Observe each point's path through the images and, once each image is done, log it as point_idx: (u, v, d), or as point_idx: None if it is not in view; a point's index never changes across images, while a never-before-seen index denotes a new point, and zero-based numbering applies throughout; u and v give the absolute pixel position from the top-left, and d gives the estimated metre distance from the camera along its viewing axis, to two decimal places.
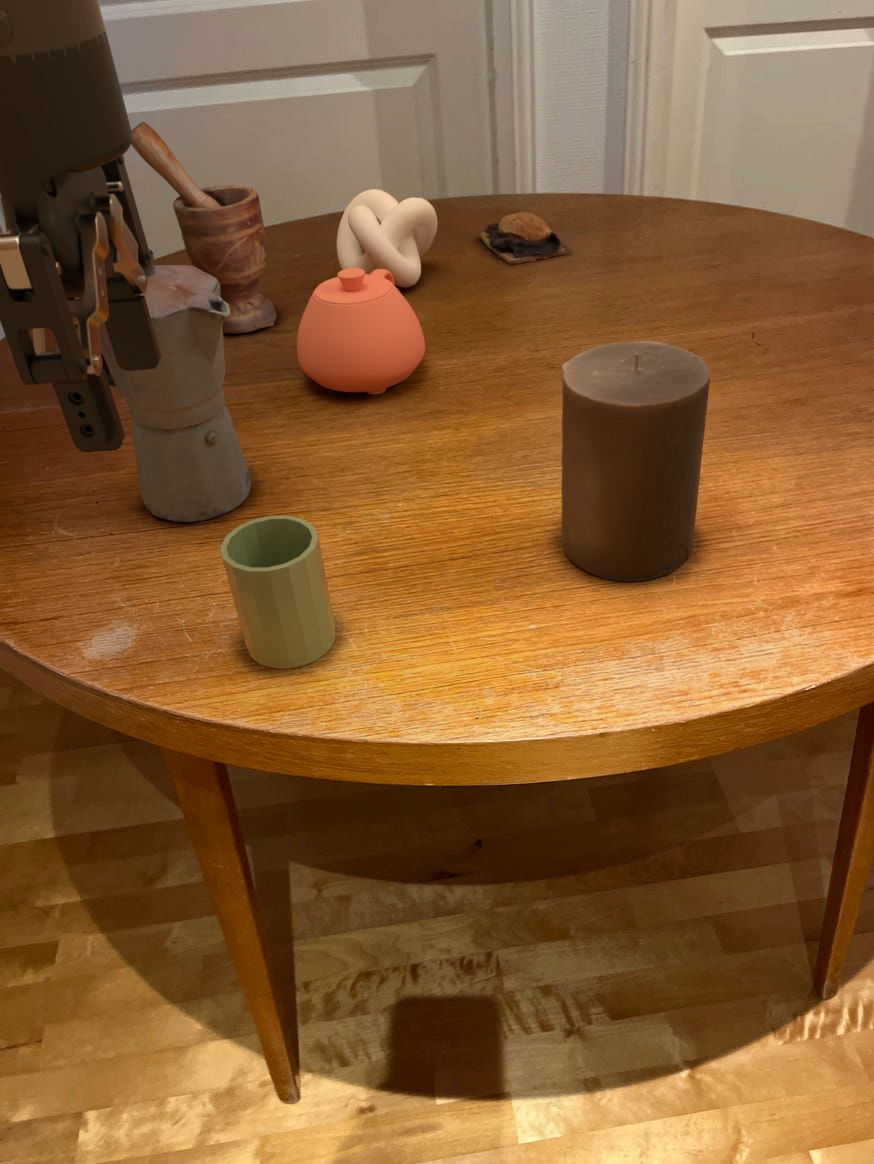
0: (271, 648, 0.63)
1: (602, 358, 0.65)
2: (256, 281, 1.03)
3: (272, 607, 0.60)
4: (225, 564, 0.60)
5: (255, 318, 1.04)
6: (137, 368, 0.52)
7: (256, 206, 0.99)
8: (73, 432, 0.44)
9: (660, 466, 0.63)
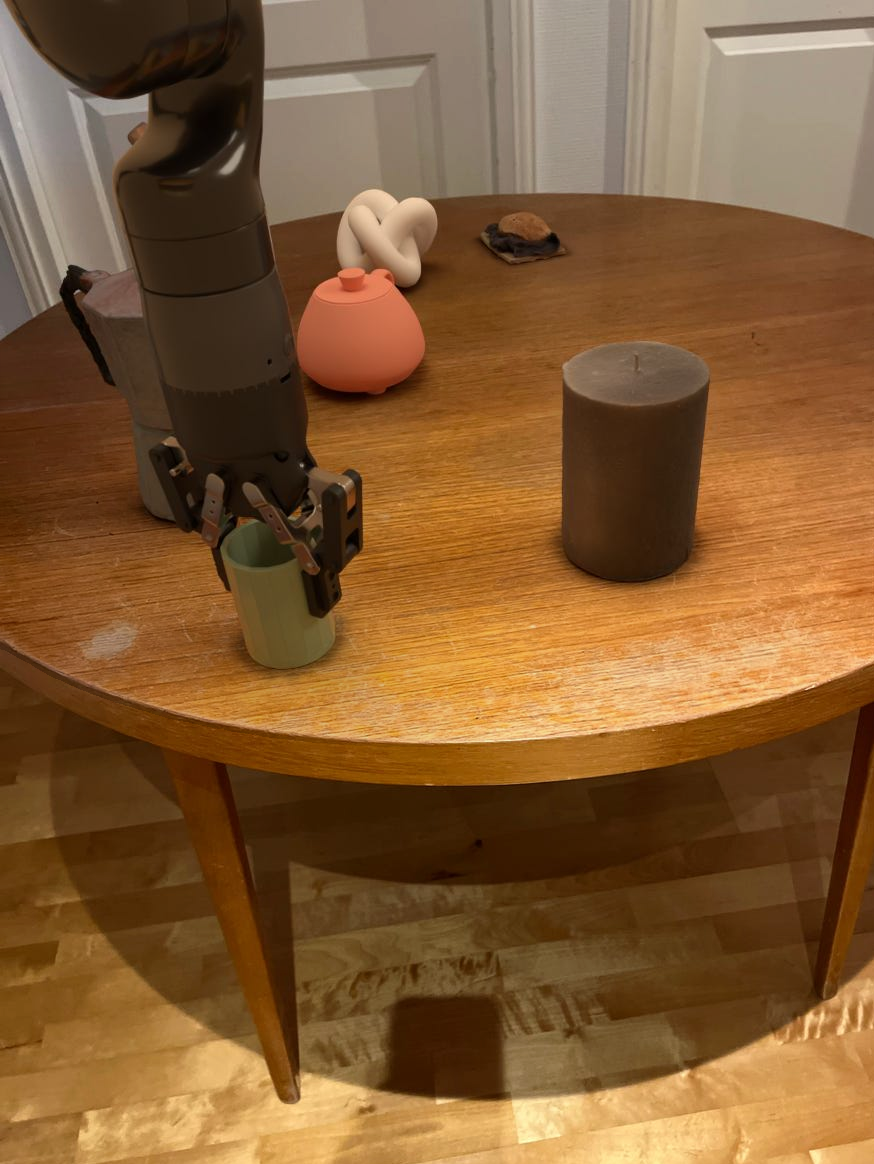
0: (271, 648, 0.63)
1: (602, 358, 0.65)
2: None
3: (272, 607, 0.60)
4: (225, 564, 0.60)
5: None
6: None
7: None
8: (330, 602, 0.61)
9: (660, 466, 0.63)
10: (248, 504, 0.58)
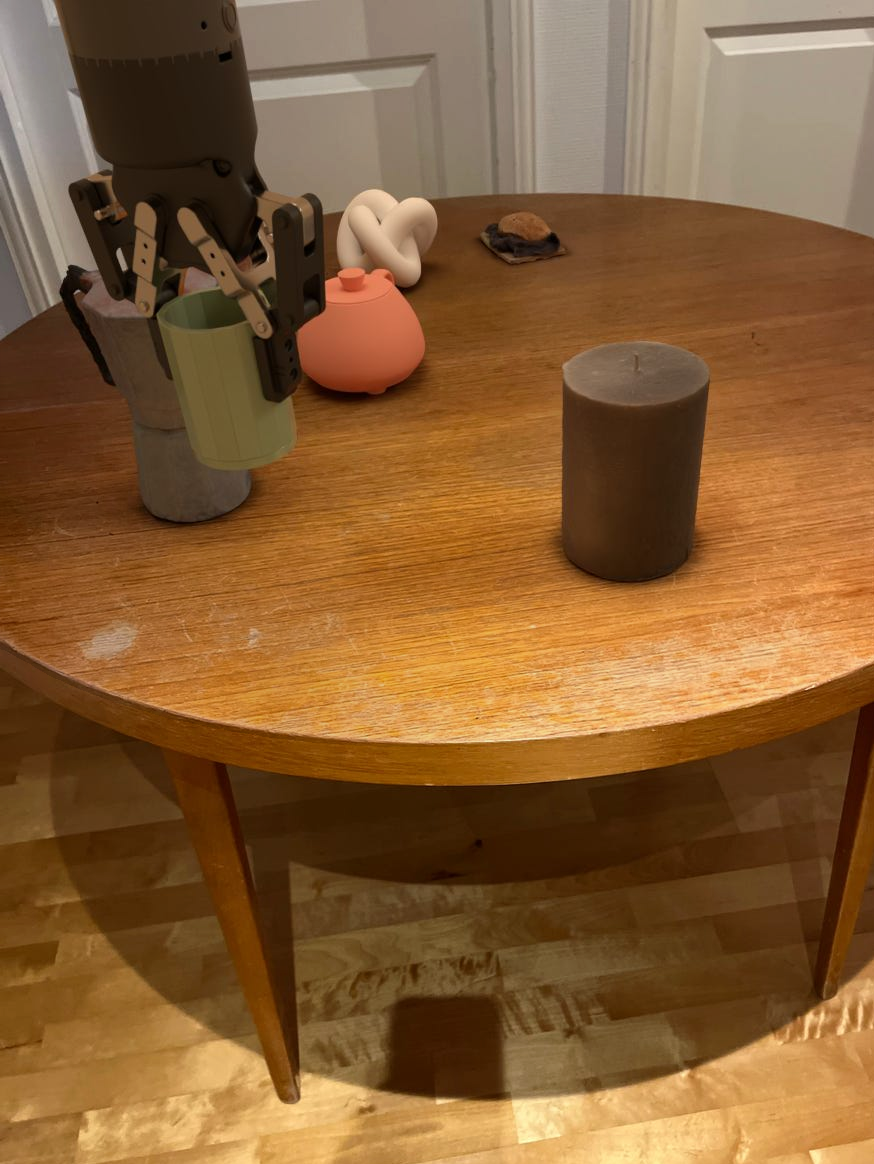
0: (219, 442, 0.53)
1: (602, 358, 0.65)
2: None
3: (218, 384, 0.51)
4: (161, 330, 0.50)
5: None
6: None
7: None
8: (287, 379, 0.51)
9: (660, 466, 0.63)
10: (187, 247, 0.48)
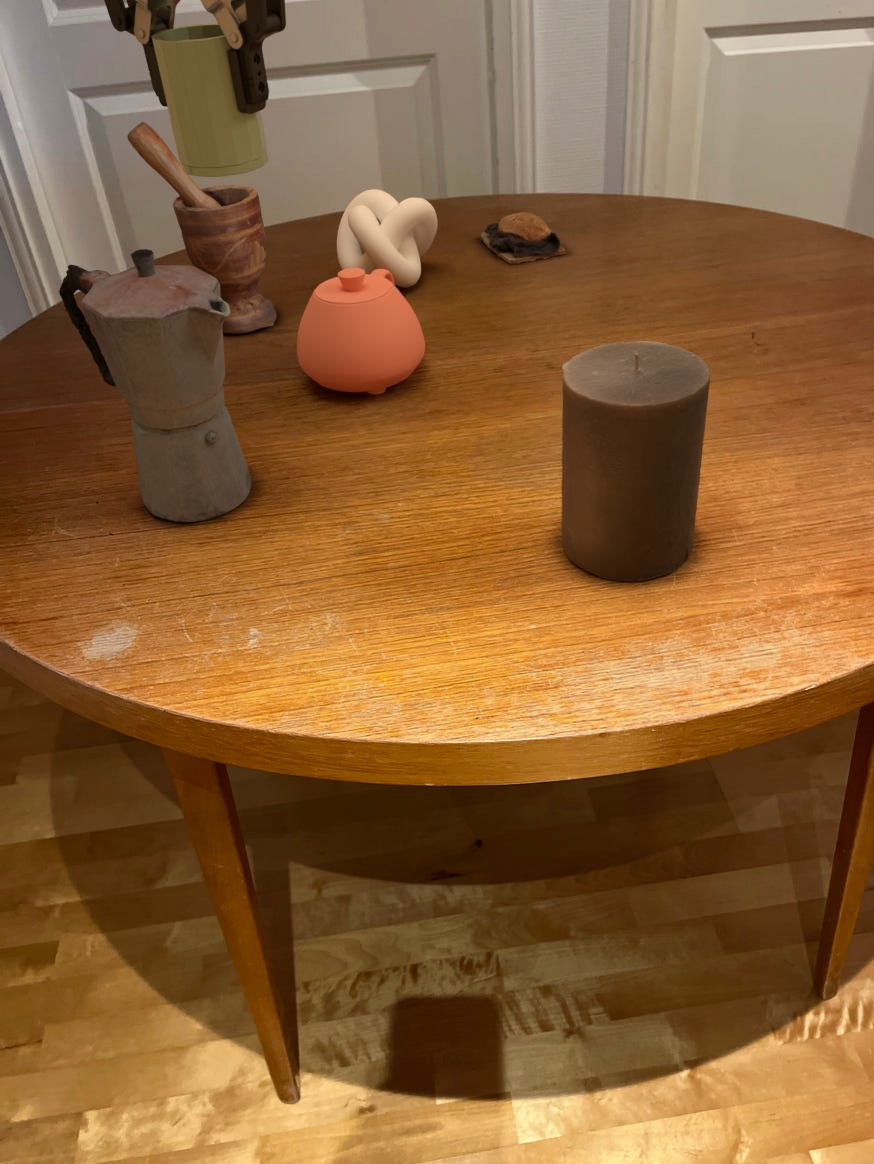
0: (201, 149, 0.65)
1: (602, 358, 0.65)
2: (256, 281, 1.03)
3: (200, 91, 0.63)
4: (155, 45, 0.62)
5: (255, 318, 1.04)
6: None
7: (256, 206, 0.99)
8: (256, 90, 0.63)
9: (660, 466, 0.63)
10: None
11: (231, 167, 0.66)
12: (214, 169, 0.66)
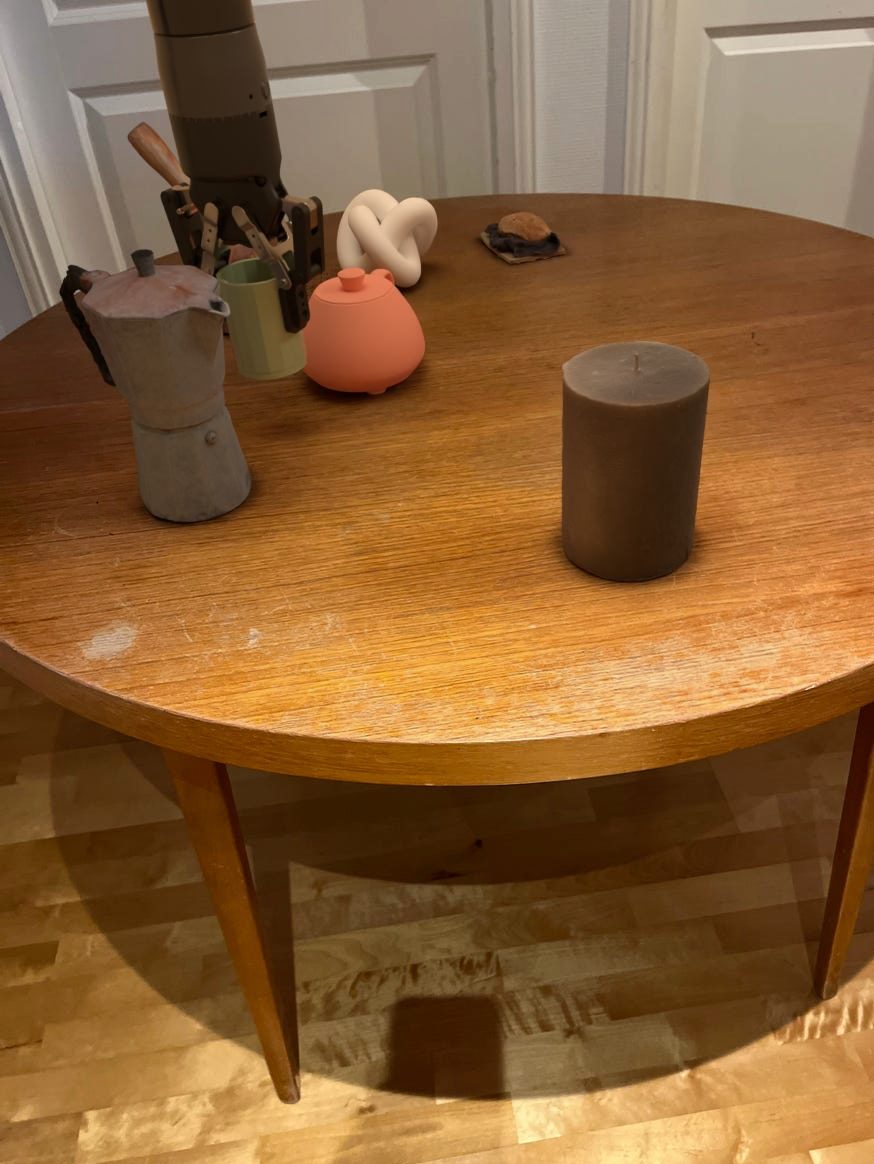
0: (255, 360, 0.81)
1: (602, 358, 0.65)
2: None
3: (256, 319, 0.78)
4: None
5: None
6: None
7: None
8: (300, 317, 0.79)
9: (660, 466, 0.63)
10: (236, 231, 0.76)
11: (279, 372, 0.82)
12: (265, 374, 0.81)
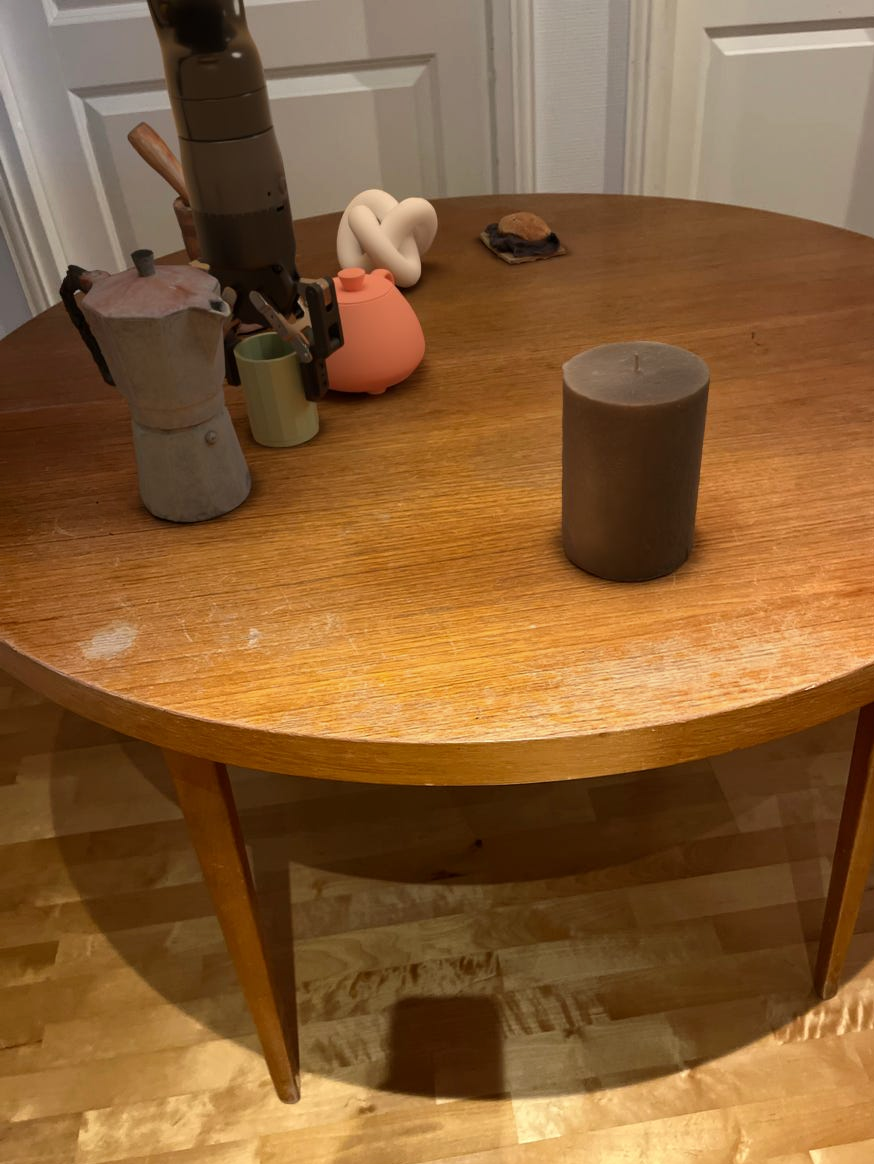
0: (270, 429, 0.85)
1: (602, 358, 0.65)
2: None
3: (271, 393, 0.83)
4: (237, 360, 0.82)
5: None
6: None
7: None
8: (320, 387, 0.82)
9: (660, 466, 0.63)
10: (253, 312, 0.80)
11: (293, 440, 0.86)
12: (280, 442, 0.86)
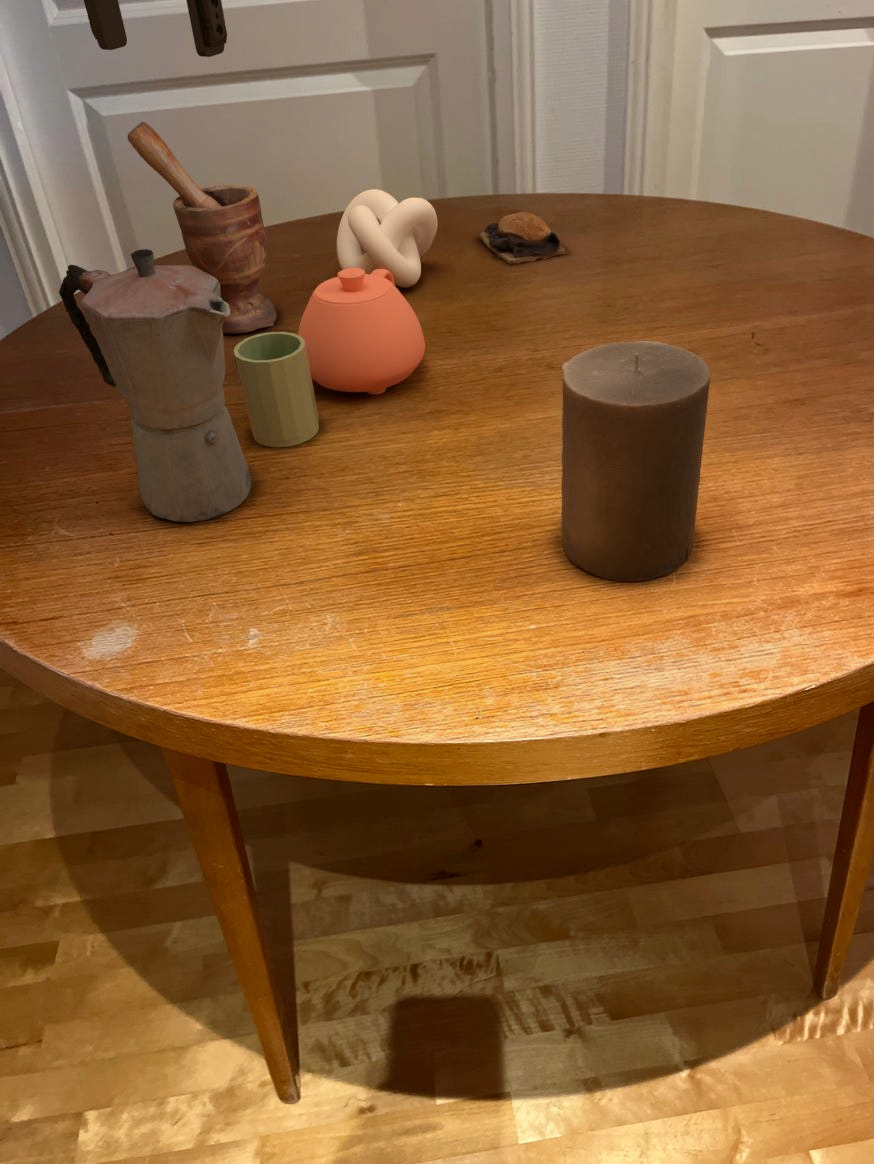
0: (270, 429, 0.85)
1: (602, 358, 0.65)
2: (256, 281, 1.03)
3: (271, 393, 0.83)
4: (237, 360, 0.82)
5: (255, 318, 1.04)
6: (116, 46, 0.69)
7: (256, 206, 0.99)
8: (214, 32, 0.64)
9: (660, 466, 0.63)
10: None
11: (293, 440, 0.86)
12: (280, 442, 0.86)
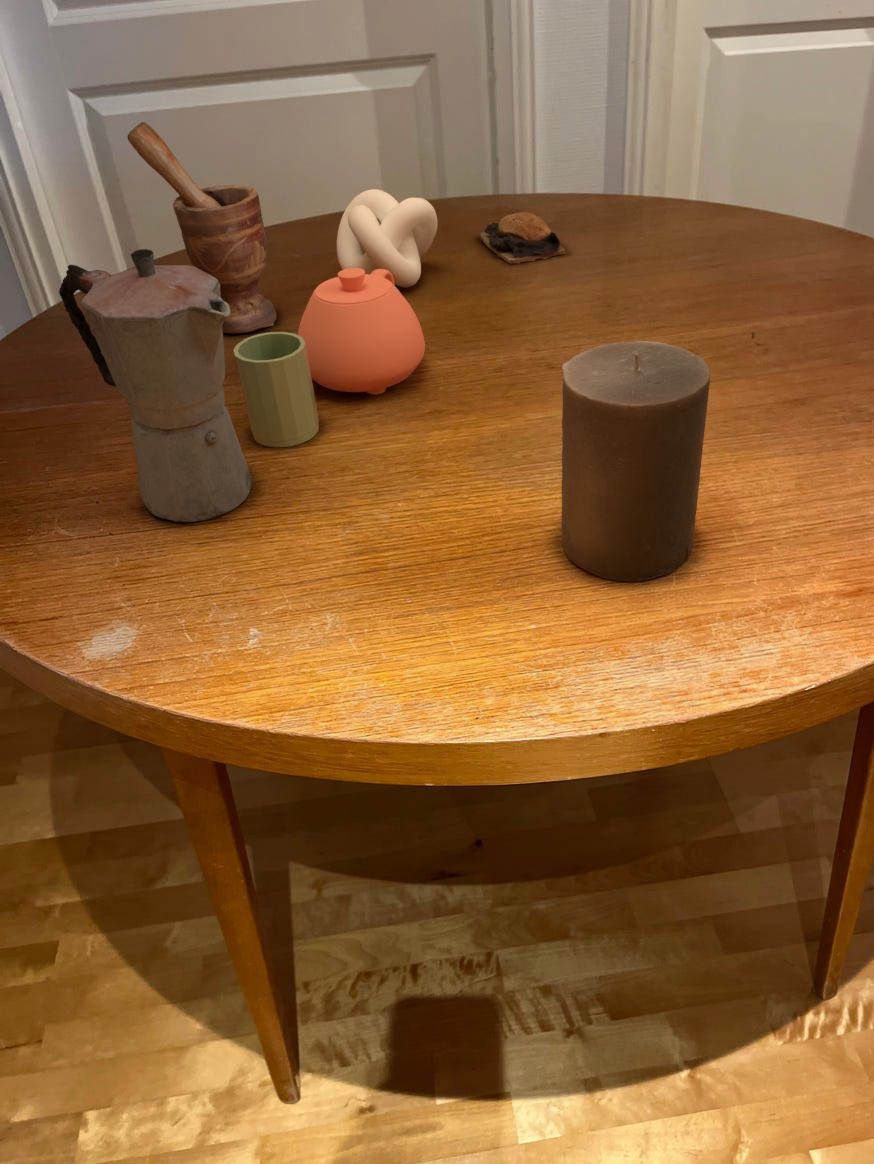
0: (270, 429, 0.85)
1: (602, 358, 0.65)
2: (256, 281, 1.03)
3: (271, 393, 0.83)
4: (237, 360, 0.82)
5: (255, 318, 1.04)
6: None
7: (256, 206, 0.99)
8: None
9: (660, 466, 0.63)
10: None
11: (293, 440, 0.86)
12: (280, 442, 0.86)
